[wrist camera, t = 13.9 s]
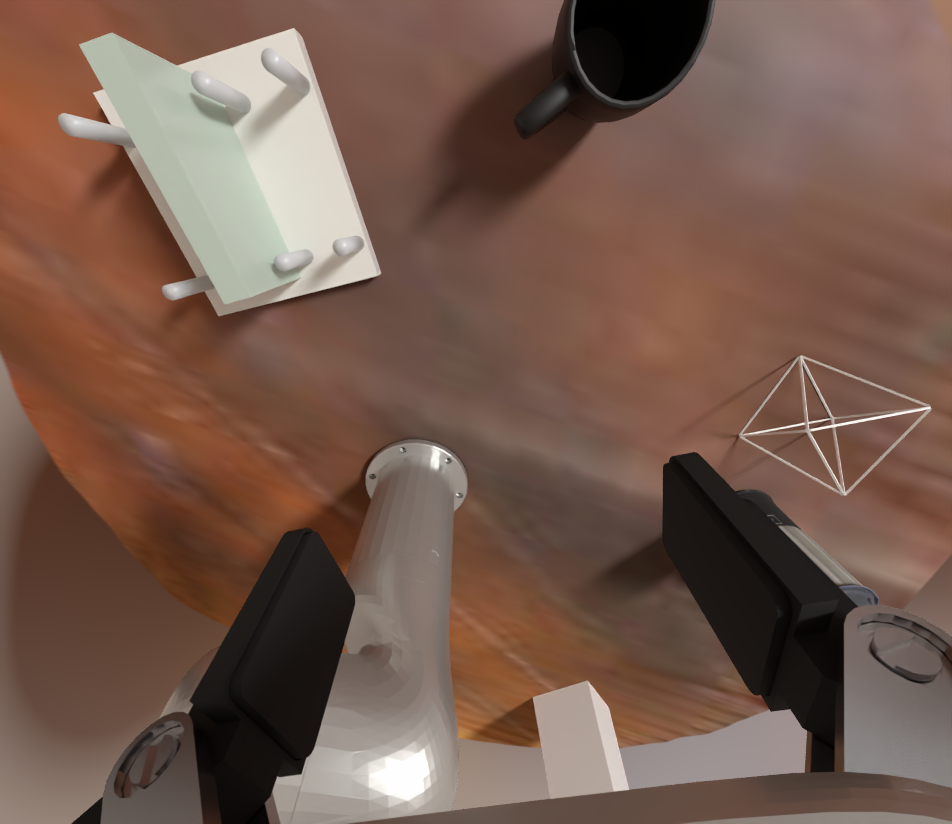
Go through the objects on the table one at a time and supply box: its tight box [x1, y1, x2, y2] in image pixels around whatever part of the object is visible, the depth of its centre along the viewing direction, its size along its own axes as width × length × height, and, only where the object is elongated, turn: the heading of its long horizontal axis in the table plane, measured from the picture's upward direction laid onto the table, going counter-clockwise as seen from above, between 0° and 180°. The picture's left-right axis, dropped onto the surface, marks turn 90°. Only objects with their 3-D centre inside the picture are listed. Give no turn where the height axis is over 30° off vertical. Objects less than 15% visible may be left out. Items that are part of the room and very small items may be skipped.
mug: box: [514, 0, 715, 140], centre depth 25 cm, size 8×12×10 cm
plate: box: [79, 33, 301, 304], centre depth 27 cm, size 14×2×9 cm, turn 14°
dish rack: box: [58, 28, 381, 316], centre depth 29 cm, size 17×16×6 cm
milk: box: [533, 681, 629, 799], centre depth 63 cm, size 12×12×26 cm
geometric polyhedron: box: [739, 356, 931, 495], centre depth 39 cm, size 12×11×9 cm
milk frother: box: [736, 490, 879, 607], centre depth 47 cm, size 14×16×15 cm
